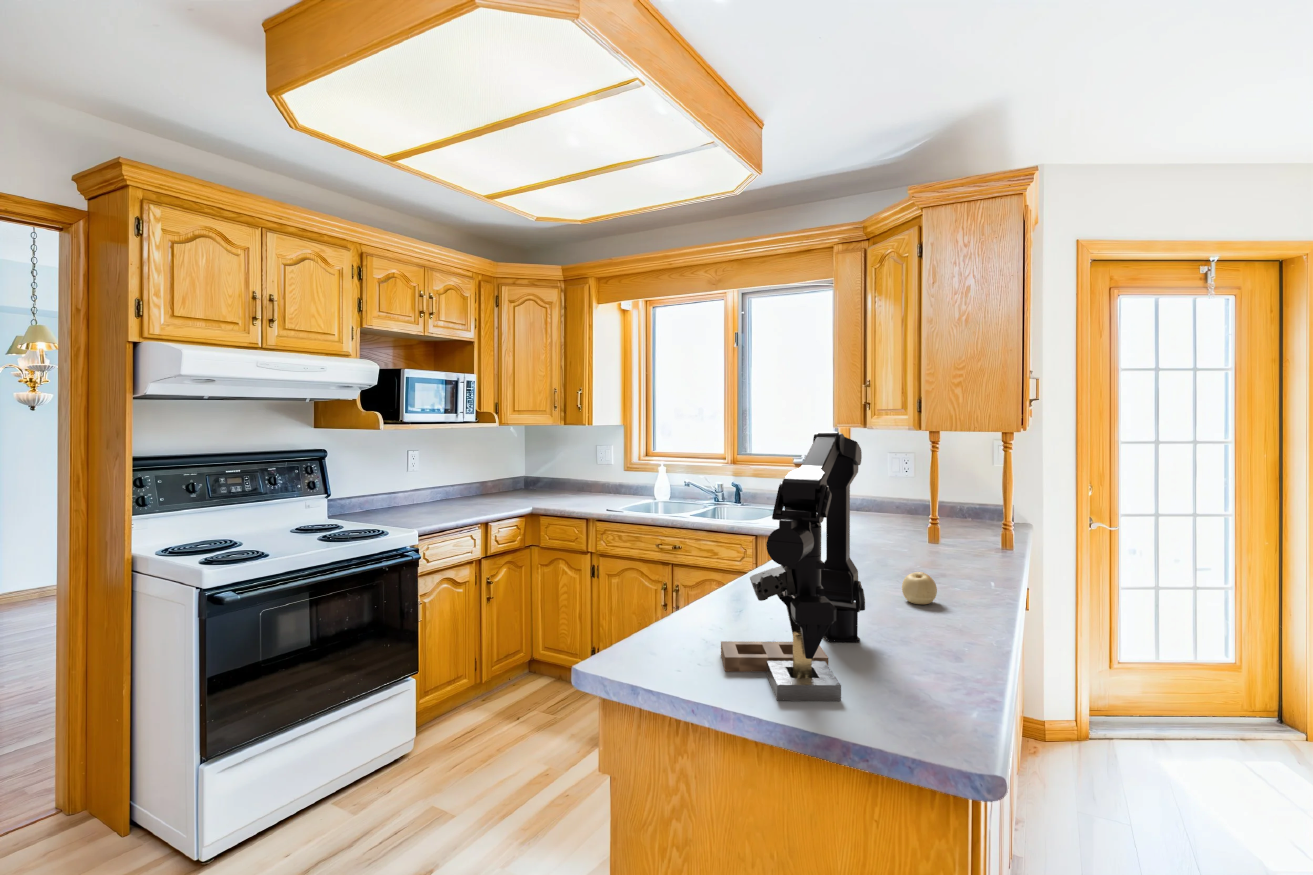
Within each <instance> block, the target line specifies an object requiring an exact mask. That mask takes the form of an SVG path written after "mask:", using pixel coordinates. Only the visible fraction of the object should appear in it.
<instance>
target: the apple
mask: <svg viewBox="0 0 1313 875" xmlns="http://www.w3.org/2000/svg"><path fill="white" fill-rule="evenodd" d="M901 592H902V595H903V596H904V598H905V599H906V600H907V602H909V603H911V604H914V605H928V604H931V603H932V602H934V600H935V599H936V597H937V594H938V588H937V584H936V582H935V581H934V579H933V578H932V577H931V575H928V574H927V573H925V572H922V571H915V572H912V573H909V574H908V575H906V576H905V577H904V579H903V580H902V584H901Z"/></svg>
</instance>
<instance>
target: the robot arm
mask: <svg viewBox="0 0 1313 875" xmlns="http://www.w3.org/2000/svg"><path fill="white" fill-rule="evenodd" d="M862 454H863V453H862V447H861V446H860V444H859V442H857V441H856V440H854V439H851V438H849V437H846V436H845V435H844V434H843V433H842V432H839V431H818V432H815V433H814V435H813V439H812V445H811V446H810V449H809V450H808V452H807V454H806V455H805V458H804V460H803V461H802V464H801V465H800V467H799V468H796V469H793V470H791V471H789V472H788V473H787V474H786V475H785V477H784V478H783V479H782V481H781V482H780V483H779V485H778V489H777V493H776V498H775V502H774V507H773V511H772V516H771V519H772V520H773V521H774V520H775V521H778V523H779V525H778V528H776V529H774V530H773V531H772V532H771V533H770V534H769V536H768V537H767V540H766V542H765V543H766V544H765V545H766V551H767V554H768V556H769V558H770V559H771V560H773V562H774V563H776V564H778V566H776V567H772V568H769V569H766V570H764V571H759V572H758V573H755V574H752V575H751V576H750V577H749V580H750V583H751V585H752V588H753V591H754V594H755V596H756V598H757V600H758V601H761V602H763V601H766V600H768V599H769V598H771V597H774V596H777V597H778V599H779V600H781V602H782V603H783V604H784V605H785V606H786V611H787V615H788V620H789V625H790V629H791V634H792V635H793V632H794V631H797V630H801V635H802V641H803V647H804V653H805V657H806V659H812V658H813V657H814V655H815V653H816V651H817V649H818V647H819V645H820V644H821V642H822V641H823V639H824V638H825V640H826V641H827V642H833V643H834V642H835V643H836V642H837V643H841V642H842V643H845V642H846V643H847V642H852V643H853V642H857V643H859V642H861V638H860V637H859V636H858V631H859V630H858V626H859V624H858V619H859V618H858V615H859V614H858V613H860V612H863V611H865V610H866V598H865V590H864V588H863V587H862V583H861V582H862V581H860V580H859V570H858V569H857V567H856V565H855V563H854V562H853V560H852V558H851V555H850V554H851V551H850V550H851V549H850V548H851V547H850V545H851V544H850V543H851V538H850V537H851V536H850V533H851V532H850V531H851V524H850V523H851V518H850V517H851V509H850V508H851V501H850V500H851V498H850V496H851V484H852V483H853V481H854V479H855V478H856V477H857V474H858V473H859V466H861V464H862V458H863V457H862ZM825 518H826V519H825ZM824 519H825V520H826V522H825V523H826V528H825V529H826V532H825V533H826V540H825V541H826V543H825V544H826V545H825V546H826V547H825V548H826V549H825V550H826V553H825V554H826V557H825V558H826V559H825V561H823V560H822V524H821V523H823V522H824ZM779 565H780V566H779ZM820 646H821V645H820Z"/></svg>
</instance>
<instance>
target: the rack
mask: <svg viewBox="0 0 1313 875" xmlns="http://www.w3.org/2000/svg"><path fill="white" fill-rule="evenodd" d="M720 656H721V660H722V665H723V668H724V671H725V672H745V673H746V672H748V673H749V672H751V673H752V672H757V673H758V672H760V673H761V672H764V673H765V672H766V673H767V661H793V641H745V640H744V641H743V640H742V641H738V640H737V641H732V640H730V641H727V640H726V641H722V640H721V641H720ZM812 661H825V662H826V663H827V665H828V666H829V657H828V655H827V654H826V652H825V651H824V649H823V647H822V646H821V645H819V647H818V649H817V651H816V653H815V655H814V657H813V658H812Z"/></svg>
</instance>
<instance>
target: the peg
mask: <svg viewBox="0 0 1313 875" xmlns="http://www.w3.org/2000/svg"><path fill="white" fill-rule="evenodd" d="M792 642H793V678H812V659H806V657H805V653H804V647H803V641H802V635H801V630H797V631H794V632H793V634H792Z"/></svg>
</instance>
